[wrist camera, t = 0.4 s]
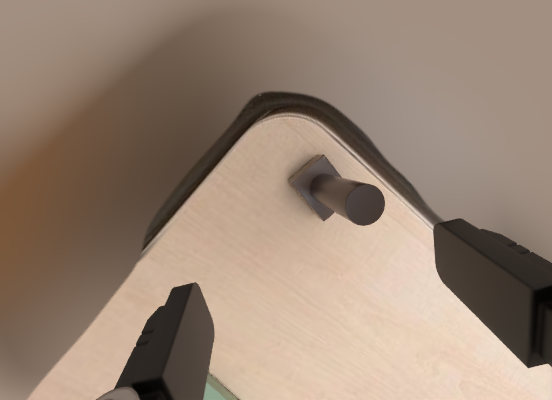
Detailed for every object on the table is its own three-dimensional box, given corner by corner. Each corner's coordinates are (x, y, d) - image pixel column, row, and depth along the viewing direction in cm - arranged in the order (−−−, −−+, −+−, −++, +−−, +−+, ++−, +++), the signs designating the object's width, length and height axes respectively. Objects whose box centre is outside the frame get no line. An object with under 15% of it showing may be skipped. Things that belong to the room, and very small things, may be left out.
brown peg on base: (286, 179, 31) (319, 197, 19) (315, 154, 31) (366, 156, 19) (315, 215, 32) (364, 251, 20) (344, 190, 32) (408, 212, 20)
